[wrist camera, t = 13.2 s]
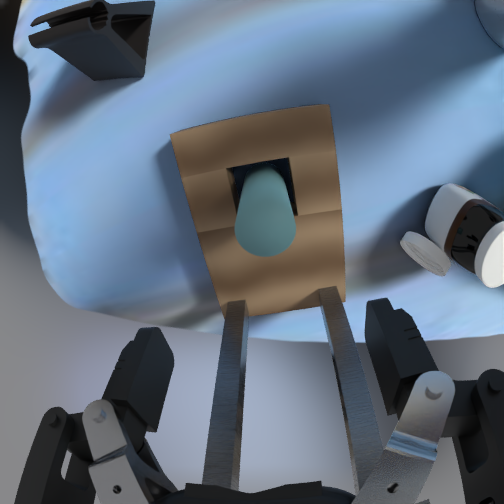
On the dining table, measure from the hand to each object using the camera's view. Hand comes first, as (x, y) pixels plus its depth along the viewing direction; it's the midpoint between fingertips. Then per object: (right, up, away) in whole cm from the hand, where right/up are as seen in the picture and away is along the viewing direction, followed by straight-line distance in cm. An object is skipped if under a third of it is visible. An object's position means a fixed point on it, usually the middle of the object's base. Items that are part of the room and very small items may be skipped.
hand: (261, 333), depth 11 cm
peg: (+1, +10, +19) cm, 22 cm away
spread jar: (+23, +7, +20) cm, 31 cm away
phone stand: (-14, +25, +11) cm, 31 cm away
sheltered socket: (+2, +7, +21) cm, 22 cm away
